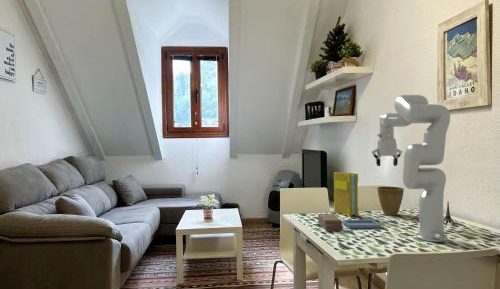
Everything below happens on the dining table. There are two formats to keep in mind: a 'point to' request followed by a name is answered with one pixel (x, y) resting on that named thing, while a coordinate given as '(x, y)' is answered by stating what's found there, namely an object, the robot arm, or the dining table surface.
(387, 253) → the dining table surface
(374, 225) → the blue tray
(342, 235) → the dining table surface
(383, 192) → the plant pot
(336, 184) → the book
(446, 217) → the eiffel tower figurine
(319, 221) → the brown rectangular block
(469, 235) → the dining table surface
